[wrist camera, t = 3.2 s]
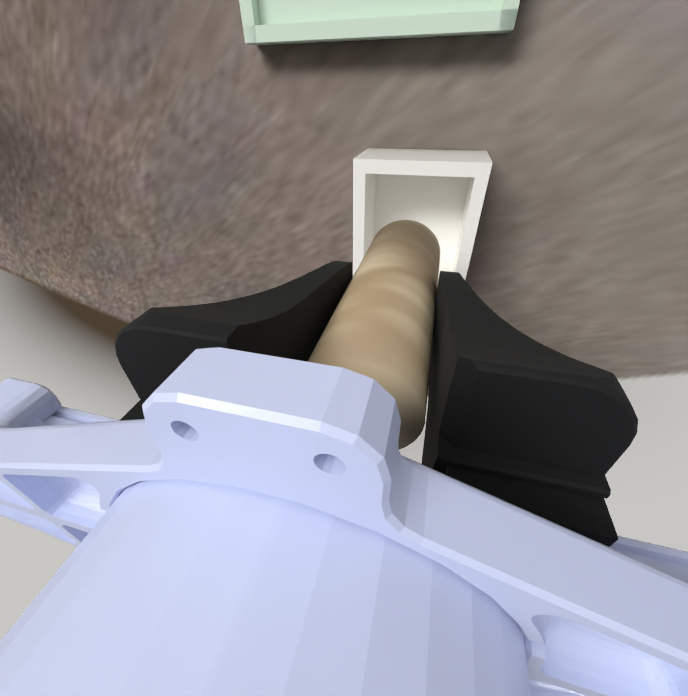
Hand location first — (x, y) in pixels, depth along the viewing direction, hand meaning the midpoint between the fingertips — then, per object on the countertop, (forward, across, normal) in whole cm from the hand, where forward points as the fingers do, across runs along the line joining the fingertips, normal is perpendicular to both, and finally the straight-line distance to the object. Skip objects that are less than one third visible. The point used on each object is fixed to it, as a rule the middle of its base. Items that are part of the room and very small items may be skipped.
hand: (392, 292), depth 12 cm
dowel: (+3, 0, 0) cm, 3 cm away
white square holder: (+10, 0, 0) cm, 10 cm away
